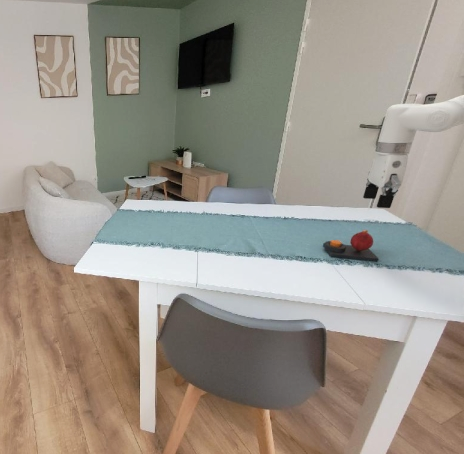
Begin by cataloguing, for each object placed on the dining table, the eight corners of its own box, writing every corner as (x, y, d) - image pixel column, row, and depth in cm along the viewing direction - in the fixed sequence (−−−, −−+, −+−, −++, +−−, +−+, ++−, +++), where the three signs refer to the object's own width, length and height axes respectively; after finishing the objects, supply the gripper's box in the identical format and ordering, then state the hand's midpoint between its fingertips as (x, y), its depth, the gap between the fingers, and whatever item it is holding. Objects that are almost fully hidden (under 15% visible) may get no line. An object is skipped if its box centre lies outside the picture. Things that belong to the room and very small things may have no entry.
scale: (365, 250, 104) (368, 242, 102) (377, 262, 96) (380, 254, 95) (319, 245, 108) (321, 238, 107) (327, 257, 101) (329, 249, 99)
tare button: (338, 244, 103) (339, 240, 103) (341, 248, 101) (342, 244, 100) (328, 243, 104) (329, 239, 104) (331, 247, 102) (332, 243, 101)
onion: (368, 256, 97) (376, 235, 94) (347, 251, 100) (353, 230, 97) (369, 250, 101) (377, 229, 97) (348, 245, 104) (355, 225, 101)
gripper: (427, 152, 78) (405, 212, 85) (393, 144, 93) (377, 195, 100) (391, 152, 81) (373, 210, 87) (364, 144, 96) (351, 194, 102)
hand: (375, 202), depth 93 cm, fingers open, 9 cm apart
